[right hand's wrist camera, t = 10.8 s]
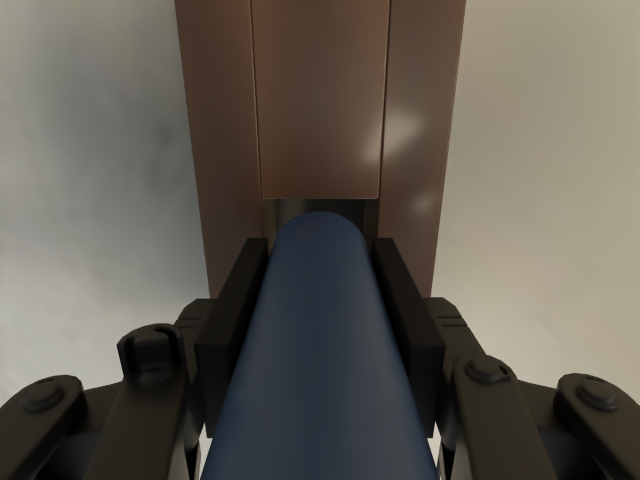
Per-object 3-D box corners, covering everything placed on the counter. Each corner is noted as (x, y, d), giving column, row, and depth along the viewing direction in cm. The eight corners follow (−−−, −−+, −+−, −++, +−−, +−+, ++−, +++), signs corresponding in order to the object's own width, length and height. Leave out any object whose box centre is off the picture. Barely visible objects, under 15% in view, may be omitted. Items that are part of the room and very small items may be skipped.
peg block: (465, -391, 13) (660, -1043, 6) (403, 297, 23) (443, 396, 15) (175, -390, 13) (-20, -1043, 6) (237, 297, 23) (196, 396, 15)
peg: (370, 210, 15) (522, 560, 4) (365, 299, 16) (465, 744, 5) (269, 210, 15) (117, 561, 4) (273, 299, 16) (174, 742, 5)
